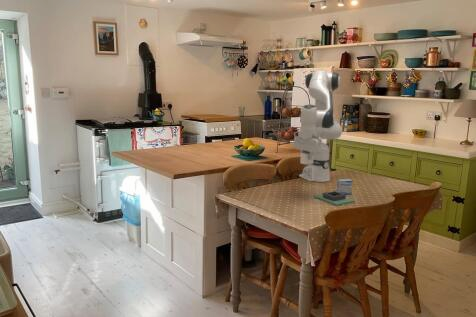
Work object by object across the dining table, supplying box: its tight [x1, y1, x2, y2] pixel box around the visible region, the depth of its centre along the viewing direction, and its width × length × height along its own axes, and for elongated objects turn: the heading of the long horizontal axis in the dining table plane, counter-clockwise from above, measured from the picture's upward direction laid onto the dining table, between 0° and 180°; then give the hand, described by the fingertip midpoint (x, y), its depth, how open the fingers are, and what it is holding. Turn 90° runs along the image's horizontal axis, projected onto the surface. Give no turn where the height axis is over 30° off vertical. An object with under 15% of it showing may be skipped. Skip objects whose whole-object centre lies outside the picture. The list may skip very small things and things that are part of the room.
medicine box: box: [335, 178, 353, 196], centre depth 233 cm, size 8×4×9 cm, turn 101°
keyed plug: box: [299, 151, 314, 165], centre depth 220 cm, size 4×6×7 cm, turn 121°
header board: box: [313, 190, 356, 207], centre depth 221 cm, size 18×14×4 cm
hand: (307, 158), depth 220 cm, fingers closed on keyed plug, 4 cm apart
